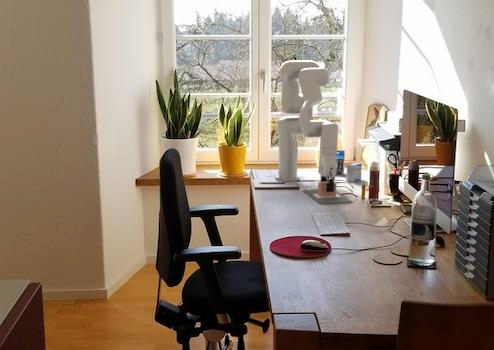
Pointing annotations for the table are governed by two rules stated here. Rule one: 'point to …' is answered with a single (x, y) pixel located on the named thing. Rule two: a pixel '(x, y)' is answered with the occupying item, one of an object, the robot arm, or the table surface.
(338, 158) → the label tape box
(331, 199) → the mat
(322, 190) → the card box
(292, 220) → the table surface
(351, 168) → the medicine box
